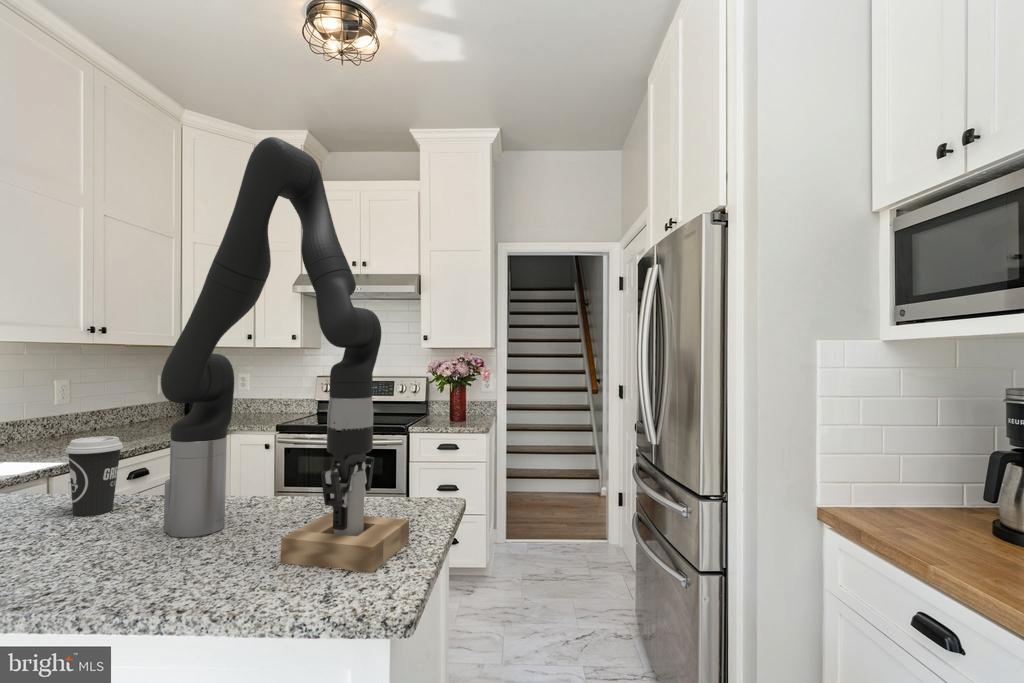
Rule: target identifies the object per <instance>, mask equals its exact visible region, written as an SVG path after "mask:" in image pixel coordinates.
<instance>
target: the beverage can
mask: <svg viewBox="0 0 1024 683" xmlns="http://www.w3.org/2000/svg"><path fill="white" fill-rule="evenodd" d="M347 484H348V483H346V484H343V483H340V487H346V486H347ZM364 485H365V473H364V469H363V471H362V470H358V472H356V475H355V476H354V477H353V491H352V492H351V493H350V494H349V498H348V503H347V506H346V507H348V510H347V528H346V529H344V530H335V529H334V534H336V535H347V536H358V535H360V534H361V533H363V530H364V516H365V497H364ZM342 497H343V492H341V498H342Z"/></svg>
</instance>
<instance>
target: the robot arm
mask: <svg viewBox="0 0 1024 683" xmlns="http://www.w3.org/2000/svg"><path fill="white" fill-rule="evenodd" d="M246 163H247V164H246V167H245V170H244V173H243V176H242V180H241V183H240V187H239V191H238V195H237V198H236V202H235V205H234V208H233V211H232V214H231V216H230V218H229V222H228V224H227V227H226V229H225V232H224V234H223V238H222V239H221V242H220V245H219V248H218V249H217V252H216V253H215V255H214V258H213V260H212V262H211V264H210V268H209V270H208V271H207V274H206V278H205V280H204V283H203V286H202V288H201V291H200V293H199V295H198V297H197V298H198V299H197V300H196V303H195V305H194V307H193V308H192V311H191V314H190V315H189V318H188V319H187V322H186V324H185V326H184V327H183V330H182V332H181V333H180V335H179V337H178V339H177V340H176V341H175V342H176V343H175V344H174V346H173V348H172V349H171V352H170V353H169V355H168V357H167V359H166V360H165V363H164V365H163V368H162V372H161V374H160V376H161V377H160V389H161V392H162V394H163V396H164V398H165V399H167V400H168V401H169V402H170V403H175V404H192V403H193V404H192V407H191V410H190V412H188V413H187V414H186V415H185V416H184V417H183V418H181V419H179V420H178V421H176V422H175V423H173V424H172V425H171V428H170V442H169V443H170V448H169V450H170V451H169V453H170V454H169V479H166V480H165V482H164V498H163V499H164V500H163V502H164V503H163V533H168V535H169V536H171V537H175V538H176V537H177V538H190V537H191V538H192V537H193V538H194V537H200V536H205V535H209V534H213V533H216V532H218V531H220V530H222V529H223V528H225V525H226V524H225V523H226V522H225V521H226V487H227V486H226V484H227V481H226V480H227V450H228V449H227V444H228V443H227V442H228V441H227V440H228V439H227V438H228V437H227V435H228V428H229V425H230V423H231V421H232V416H233V404H234V393H235V373H234V372H235V371H234V368H233V365H232V363H231V361H230V360H229V358H227V357H226V356H225V355H224V354H223V355H222V354H220V353H213V352H214V350H215V349H216V347H217V345H218V343H219V342H220V340H221V339H222V337H223V336H224V335H226V333H227V332H228V331H229V330H230V329H231V328H232V327H233V326H235V325H236V324H237V323H238V322H239V321H240V320H241V319H242V318H243V317H244V316H246V315H247V313H249V312H250V311H251V310H252V309H253V307H254V306H255V305H256V304H257V301H258V300H259V299H260V297H261V294H262V291H263V289H264V287H265V284H266V282H267V280H268V278H269V275H270V271H271V267H272V266H271V264H272V263H271V262H272V260H271V249H270V240H269V226H270V225H269V224H270V218H271V216H272V213H273V210H274V207H275V205H276V203H277V200H278V198H279V197H281V198H283V199H286V200H289V202H290V204H291V205H292V206H293V208H294V210H295V212H296V213H297V215H298V218H299V221H300V224H301V230H302V232H301V233H302V238H301V245H300V246H301V250H300V251H301V257H302V263H303V265H304V269H305V271H306V274H307V276H308V278H309V280H310V284H311V285H312V289H313V290H314V293H315V299H316V309H317V316H318V323H319V324H318V325H319V327H320V330H321V332H322V335H323V337H324V338H325V339H326V340H327V342H329V344H331V345H333V346H334V347H336V348H339V349H343V348H344V351H343V356H342V359H341V361H339V362H337V363H335V364H333V365H332V366H331V369H330V374H329V400H328V407H327V422H326V423H327V425H326V426H327V427H326V431H327V432H326V451H327V453H329V454H330V455H331V454H332V455H333V460H332V464H331V468H330V469H329V470H322V471H321V473H320V477H321V487H322V495H323V505H325V506H328V507H332V513H333V528H334V529H335V530H344V529H346V528H347V510H348V507H346V506H347V503H348V498H349V494H350V493H351V492H352V491H353V477H354V476H355V475H356V472H358V470H362V471H363V469H364V473H365V485H364V498H366V495H367V492H370V491H371V489H372V481H373V474H374V468H375V467H374V466H375V457H374V456H367V455H366V454H367V453H369V452H371V451H372V450H373V447H374V404H373V403H374V402H373V373H374V368H375V366H376V362H377V358H378V355H379V352H380V351H379V350H380V347H381V341H382V326H381V320H380V319H379V317H378V316H377V314H376V313H375V312H373V311H372V310H370V309H368V308H364V307H356V306H354V305H353V303H352V300H351V296H352V295H353V294H354V292H355V291H356V288H357V282H356V279H355V277H354V274H353V271H352V269H351V267H350V264H349V263H348V262H349V261H348V260H347V257H346V255H345V253H344V251H343V248H342V245H341V243H340V241H339V238H338V235H337V232H336V229H335V225H334V222H333V217H332V213H331V210H330V206H329V201H328V197H327V193H326V189H325V184H324V180H323V176H322V173H321V170H320V167H319V165H318V163H317V161H316V160H315V159H314V157H313V156H312V155H310V154H308V153H307V152H306V151H305V150H302V149H300V148H299V147H298V146H295V145H292V144H290V143H289V142H288V141H285V140H284V139H281V138H278V137H275V136H274V137H273V136H270V137H266V138H264V139H262V140H260V141H259V143H257V145H256V146H254V149H253V150H252V152H251V153H250V155H249V158H248V160H247V162H246ZM340 483H343V484H346V483H348V484H347V486H346V487H340ZM341 492H343V497H342V498H341Z"/></svg>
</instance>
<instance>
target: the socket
mask: <svg viewBox="0 0 1024 683" xmlns="http://www.w3.org/2000/svg"><path fill="white" fill-rule="evenodd" d="M408 543H410V519H406V518H396V517H395V518H394V517H381V516H369V515H364V530H363V533H361V534H360V535H358V536H347V535H336V534H334V528H333V512H328V513H326V514H324V515H321V516H320V517H318V518H316V519H314V520H312V521H310V522H309V523H307V524H304V525H302V526H300V527H299V528H297V529H295V530H294V531H291V532H290V533H288V534H285V535H284V536H282V537H280V564H285V563H286V564H288V565H294V564H295V566H303V565H308V566H307V567H312V566H317V567H316V568H321V567H328V568H327V569H330V568H339V569H340V568H341V569H346V570H345V571H348V570H354V571H353V572H357V571H361V572H360V573H366V572H369V573H368V574H373V573H374V572H376V571H377V570H378V569H379V568H380V567H381V566H383V565H384V564H385V563H386V562H387V561H389V560H390V559H391V558H392V557H393V556H394V555H395V553H396V552H397V551H398V552H399V551H401V549H403V548H404V547H405V546H406V545H408ZM402 547H403V548H402ZM398 552H397V553H398ZM391 556H392V557H391ZM390 557H391V558H390ZM389 558H390V559H389ZM384 562H385V563H384ZM383 563H384V564H383ZM382 564H383V565H382ZM329 567H330V568H329ZM339 569H338V570H339ZM376 569H377V570H376Z"/></svg>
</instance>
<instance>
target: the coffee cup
mask: <svg viewBox="0 0 1024 683" xmlns="http://www.w3.org/2000/svg"><path fill="white" fill-rule="evenodd" d="M122 449H124V444H123V443H122V441H120V437H118V436H112V435H111V436H109V435H108V436H89V437H81V438H76V439H72V440H70V443H69V445H67V447H66V448H65V453H66V454H67V455H68V464H69V465H68V467H69V477H70V478H69V480H70V490H71V502H72V515H73V517H80V518H81V517H83V518H84V517H93V516H94V517H95V516H99V515H104V514H108V513H110V512H111V511H113V509H114V502H115V495H116V494H115V493H116V488H117V487H116V486H117V485H116V484H117V480H118V478H117V477H118V471H119V464H120V458H121V457H120V455H121V450H122Z"/></svg>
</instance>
